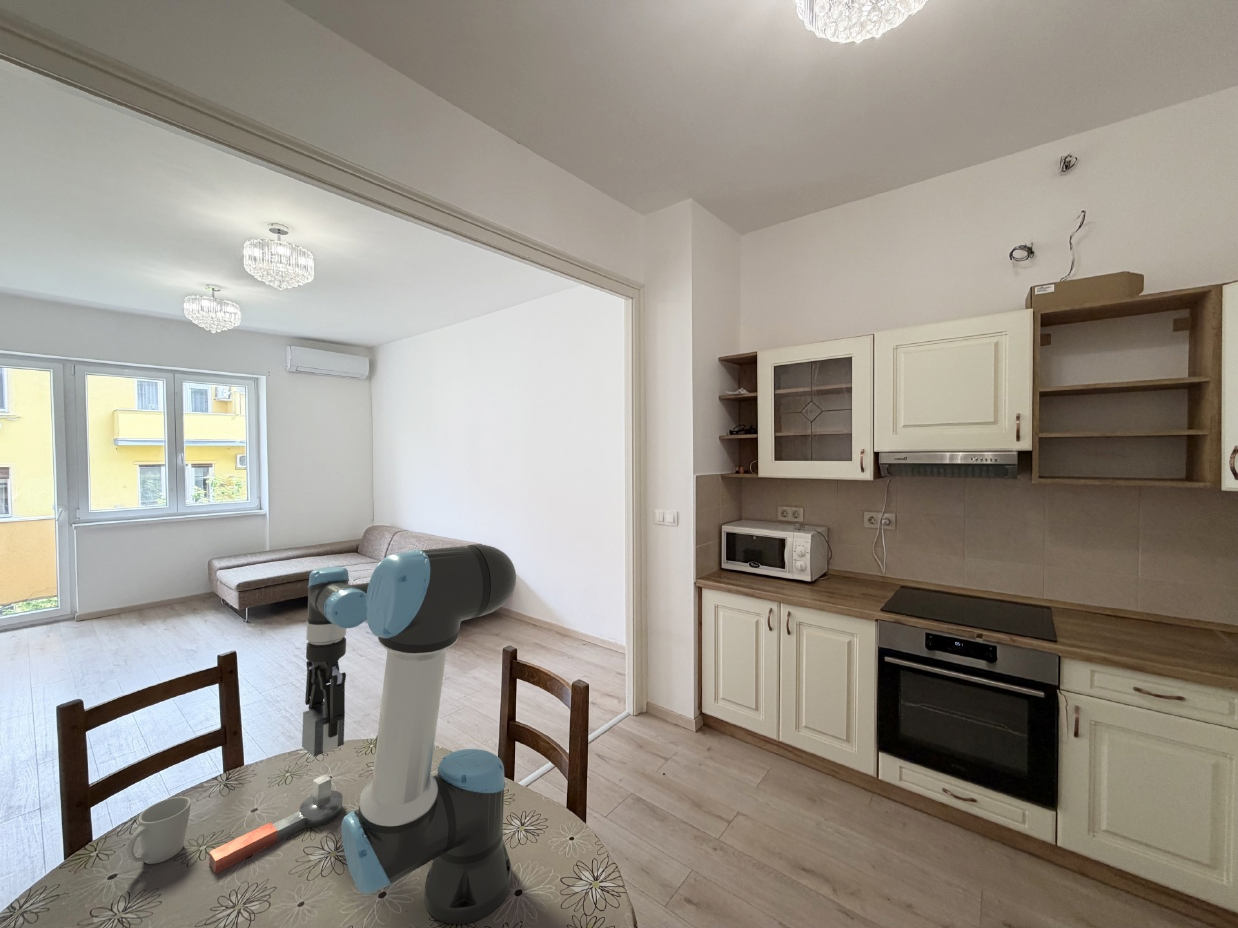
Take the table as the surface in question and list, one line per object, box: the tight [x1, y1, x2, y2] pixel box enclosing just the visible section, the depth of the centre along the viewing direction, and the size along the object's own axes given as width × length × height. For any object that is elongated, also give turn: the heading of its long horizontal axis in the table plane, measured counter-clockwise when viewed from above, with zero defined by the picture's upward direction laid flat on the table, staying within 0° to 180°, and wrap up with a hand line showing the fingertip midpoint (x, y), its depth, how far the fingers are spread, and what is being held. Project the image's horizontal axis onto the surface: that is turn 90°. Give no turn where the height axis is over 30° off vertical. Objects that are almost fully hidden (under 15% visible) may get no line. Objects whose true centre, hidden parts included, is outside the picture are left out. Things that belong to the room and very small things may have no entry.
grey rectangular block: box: [301, 705, 346, 758], centre depth 108 cm, size 6×6×8 cm
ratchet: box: [208, 773, 343, 875], centre depth 102 cm, size 23×8×8 cm, turn 144°
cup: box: [126, 796, 192, 865], centre depth 95 cm, size 8×10×8 cm
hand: (323, 744), depth 108 cm, fingers closed on grey rectangular block, 6 cm apart
